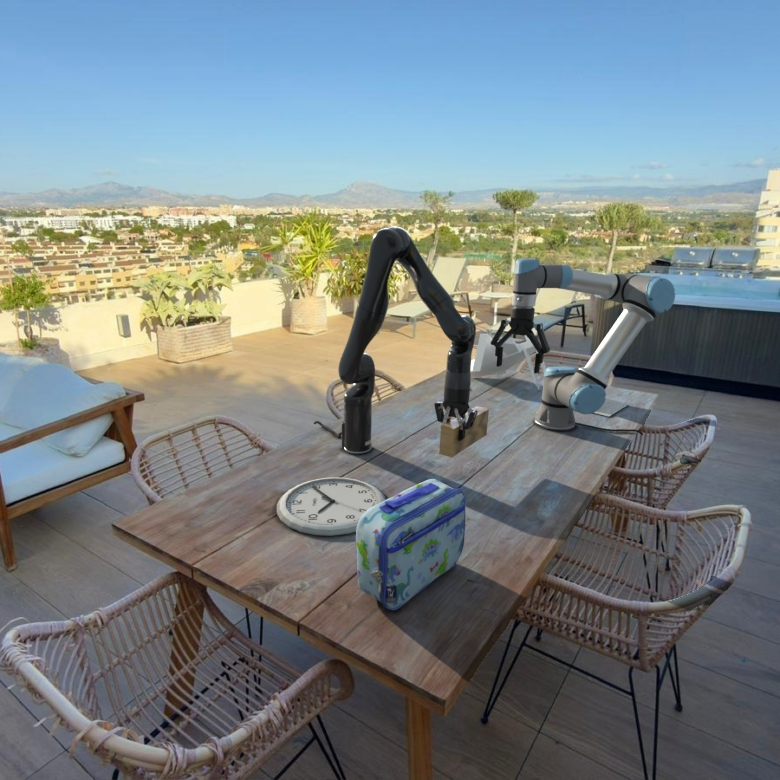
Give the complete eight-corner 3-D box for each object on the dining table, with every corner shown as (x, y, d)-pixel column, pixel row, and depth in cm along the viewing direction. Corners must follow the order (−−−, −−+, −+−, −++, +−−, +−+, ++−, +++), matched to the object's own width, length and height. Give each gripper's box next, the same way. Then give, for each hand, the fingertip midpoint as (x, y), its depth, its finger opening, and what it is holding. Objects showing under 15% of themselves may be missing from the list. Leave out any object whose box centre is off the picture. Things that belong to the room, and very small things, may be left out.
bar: (474, 431, 176) (476, 406, 173) (486, 434, 173) (488, 409, 170) (439, 453, 158) (440, 425, 155) (451, 457, 156) (453, 429, 153)
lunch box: (385, 624, 100) (387, 528, 94) (349, 596, 108) (348, 506, 101) (468, 566, 118) (474, 482, 112) (432, 545, 125) (436, 466, 119)
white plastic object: (486, 418, 266) (465, 396, 241) (467, 346, 288) (447, 318, 263) (557, 395, 254) (543, 368, 229) (531, 321, 276) (517, 290, 251)
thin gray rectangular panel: (608, 416, 214) (573, 407, 224) (608, 416, 214) (573, 408, 224) (628, 404, 229) (594, 396, 238) (628, 405, 229) (594, 397, 238)
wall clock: (392, 527, 129) (268, 531, 127) (391, 533, 130) (269, 537, 127) (383, 473, 158) (282, 475, 155) (383, 478, 158) (282, 480, 156)
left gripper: (429, 382, 155) (427, 435, 160) (472, 392, 147) (468, 448, 152) (443, 377, 160) (439, 428, 166) (485, 386, 152) (480, 440, 158)
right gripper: (483, 304, 176) (479, 365, 182) (556, 312, 162) (548, 377, 168) (493, 302, 182) (489, 361, 188) (564, 309, 168) (557, 373, 174)
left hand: (453, 437), depth 159 cm, fingers closed on bar, 4 cm apart
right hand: (517, 369), depth 178 cm, fingers open, 13 cm apart
